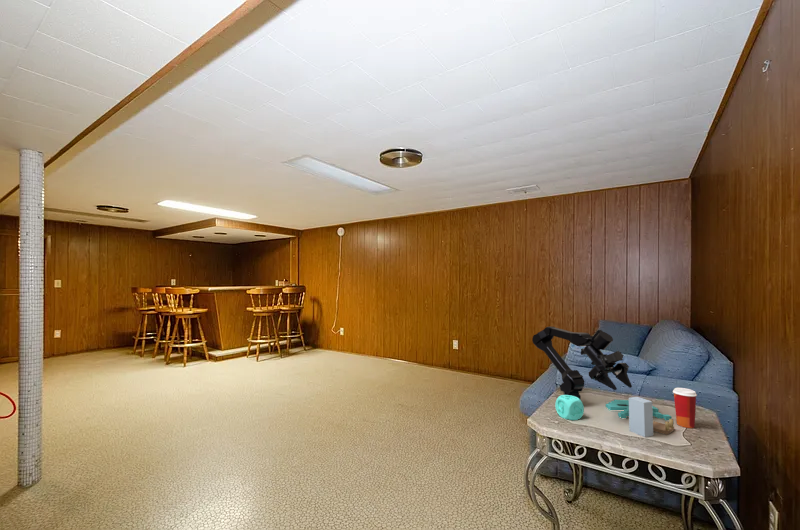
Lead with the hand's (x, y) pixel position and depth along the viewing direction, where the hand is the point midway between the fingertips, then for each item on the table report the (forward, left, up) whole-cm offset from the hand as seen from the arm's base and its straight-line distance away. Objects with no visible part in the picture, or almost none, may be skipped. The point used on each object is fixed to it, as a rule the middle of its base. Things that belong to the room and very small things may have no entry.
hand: (623, 388), depth 145 cm
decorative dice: (-20, +2, -15) cm, 25 cm away
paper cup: (+23, +7, -14) cm, 28 cm away
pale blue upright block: (+4, -7, -14) cm, 17 cm away
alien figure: (+8, +19, -15) cm, 26 cm away
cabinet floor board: (+11, 0, -14) cm, 18 cm away
